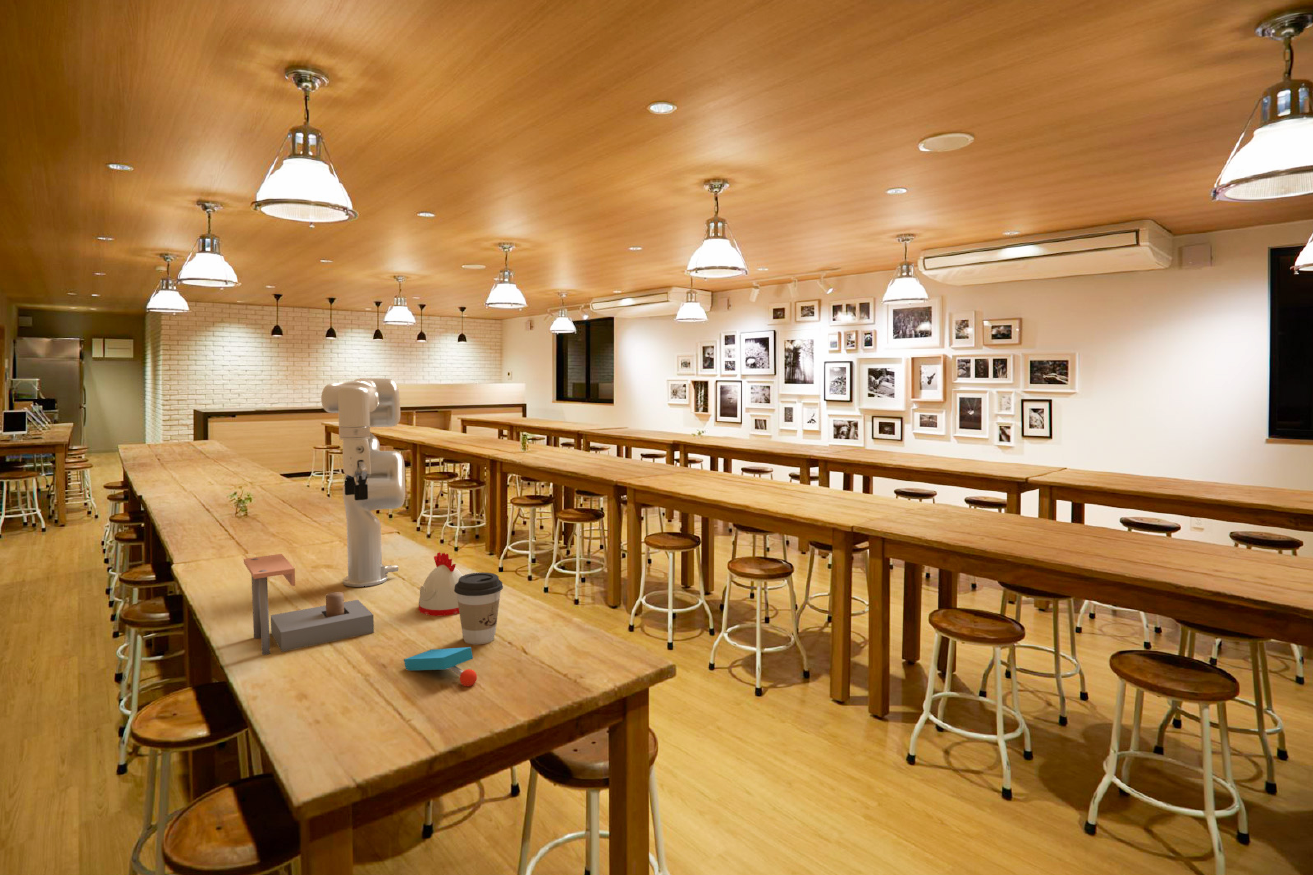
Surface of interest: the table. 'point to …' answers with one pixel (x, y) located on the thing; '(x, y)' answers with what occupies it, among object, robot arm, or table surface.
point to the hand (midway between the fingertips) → (356, 497)
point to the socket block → (320, 625)
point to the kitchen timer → (440, 588)
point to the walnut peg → (334, 604)
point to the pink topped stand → (265, 591)
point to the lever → (444, 662)
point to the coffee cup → (478, 606)
